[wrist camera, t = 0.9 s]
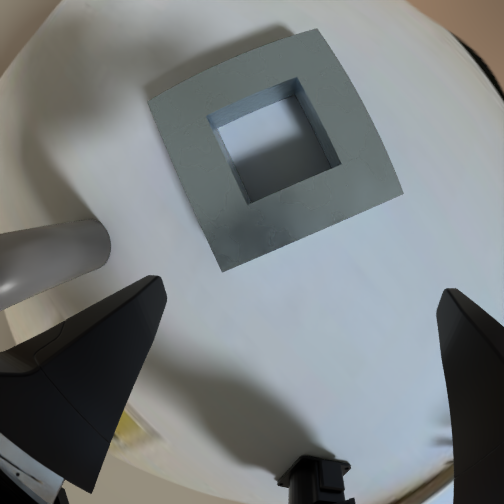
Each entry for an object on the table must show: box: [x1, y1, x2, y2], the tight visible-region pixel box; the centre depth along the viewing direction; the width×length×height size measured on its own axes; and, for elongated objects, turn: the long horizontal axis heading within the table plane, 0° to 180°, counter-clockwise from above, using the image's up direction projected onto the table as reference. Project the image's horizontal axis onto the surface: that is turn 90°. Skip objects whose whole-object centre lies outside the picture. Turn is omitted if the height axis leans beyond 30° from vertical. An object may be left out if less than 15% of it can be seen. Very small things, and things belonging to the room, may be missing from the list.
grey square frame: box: [148, 29, 404, 272], centre depth 19 cm, size 13×13×4 cm
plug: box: [0, 219, 111, 311], centre depth 16 cm, size 4×4×15 cm
